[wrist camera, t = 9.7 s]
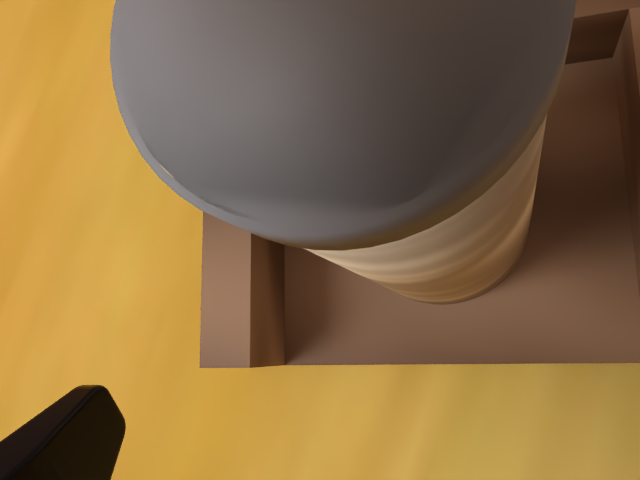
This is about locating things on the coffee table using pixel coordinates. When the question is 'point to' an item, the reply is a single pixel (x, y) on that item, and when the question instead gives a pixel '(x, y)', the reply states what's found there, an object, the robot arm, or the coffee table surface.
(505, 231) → the lidded tumbler
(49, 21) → the coffee table surface
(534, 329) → the cradle
